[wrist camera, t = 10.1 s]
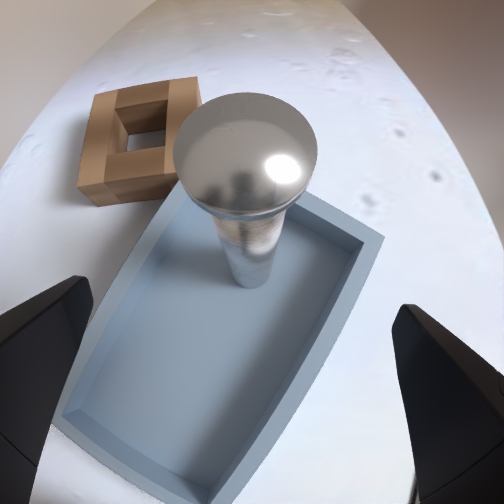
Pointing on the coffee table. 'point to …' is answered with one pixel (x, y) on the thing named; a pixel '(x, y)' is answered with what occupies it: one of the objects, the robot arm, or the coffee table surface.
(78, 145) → the coffee table surface
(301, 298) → the tray
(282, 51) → the coffee table surface
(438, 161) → the coffee table surface
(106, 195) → the pin block
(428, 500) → the robot arm
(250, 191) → the metal pin
